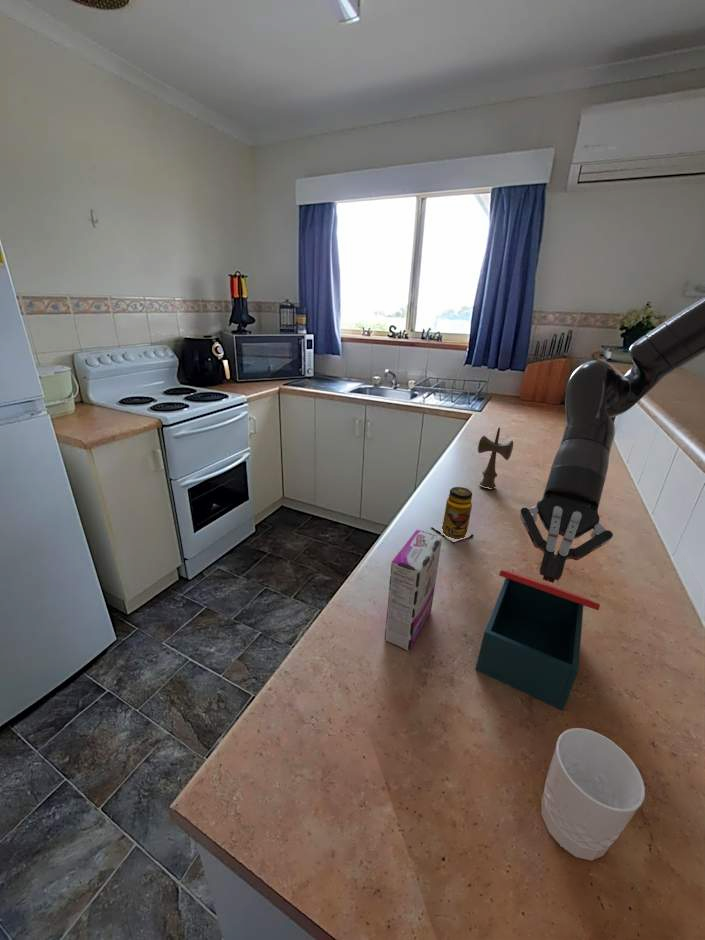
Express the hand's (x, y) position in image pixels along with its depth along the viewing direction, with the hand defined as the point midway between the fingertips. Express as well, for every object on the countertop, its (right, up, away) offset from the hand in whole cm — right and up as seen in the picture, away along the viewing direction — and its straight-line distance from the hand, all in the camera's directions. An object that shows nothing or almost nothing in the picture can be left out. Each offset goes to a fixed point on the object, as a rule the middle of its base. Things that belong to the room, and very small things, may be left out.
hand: (548, 580), depth 57 cm
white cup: (-3, -24, -12) cm, 27 cm away
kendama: (+15, +10, +70) cm, 73 cm away
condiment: (-3, 0, +44) cm, 44 cm away
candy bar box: (-18, -12, +13) cm, 26 cm away
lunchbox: (+1, -15, +9) cm, 17 cm away
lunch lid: (+2, -3, +5) cm, 6 cm away
